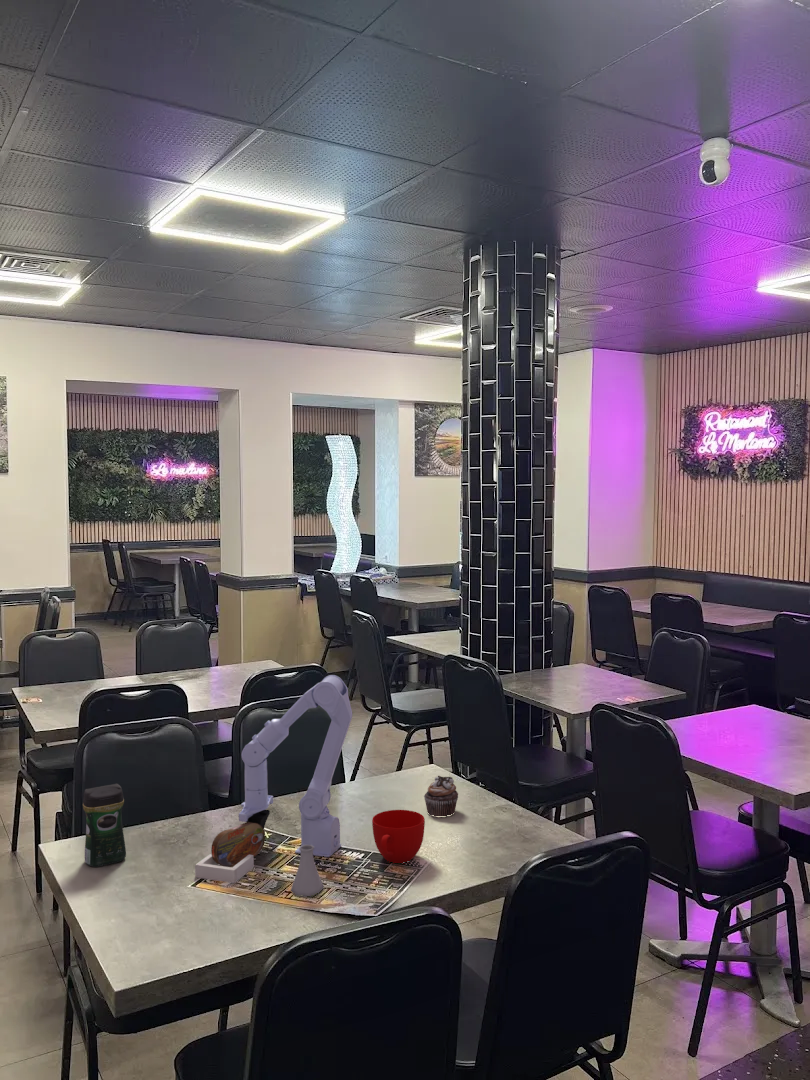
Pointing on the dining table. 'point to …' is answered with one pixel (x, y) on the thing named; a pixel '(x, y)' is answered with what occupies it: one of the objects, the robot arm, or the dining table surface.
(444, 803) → the cupcake
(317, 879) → the flask
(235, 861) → the tin
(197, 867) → the endcap
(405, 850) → the ceramic cup
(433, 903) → the dining table surface
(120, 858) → the coffee jar
